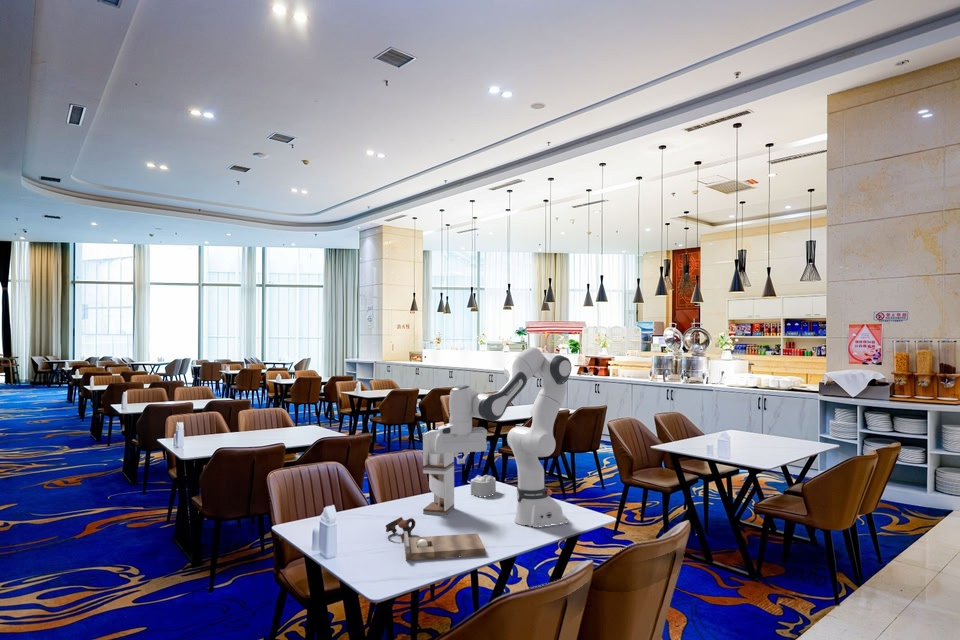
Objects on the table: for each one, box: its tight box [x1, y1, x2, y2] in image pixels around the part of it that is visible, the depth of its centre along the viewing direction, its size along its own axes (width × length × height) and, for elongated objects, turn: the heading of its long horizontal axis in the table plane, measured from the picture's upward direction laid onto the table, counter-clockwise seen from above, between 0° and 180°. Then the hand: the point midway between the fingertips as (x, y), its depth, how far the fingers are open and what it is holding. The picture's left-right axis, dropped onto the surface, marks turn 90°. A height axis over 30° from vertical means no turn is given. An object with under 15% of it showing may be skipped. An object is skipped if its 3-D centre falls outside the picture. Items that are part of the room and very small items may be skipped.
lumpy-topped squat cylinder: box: [470, 474, 497, 498], centre depth 287 cm, size 10×13×9 cm
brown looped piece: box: [385, 516, 416, 541], centre depth 227 cm, size 12×10×8 cm
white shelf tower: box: [422, 429, 455, 516], centre depth 259 cm, size 11×11×35 cm
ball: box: [417, 539, 428, 547], centre depth 209 cm, size 4×4×4 cm
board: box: [403, 531, 486, 562], centre depth 211 cm, size 28×16×5 cm, turn 100°
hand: (461, 463), depth 223 cm, fingers closed
